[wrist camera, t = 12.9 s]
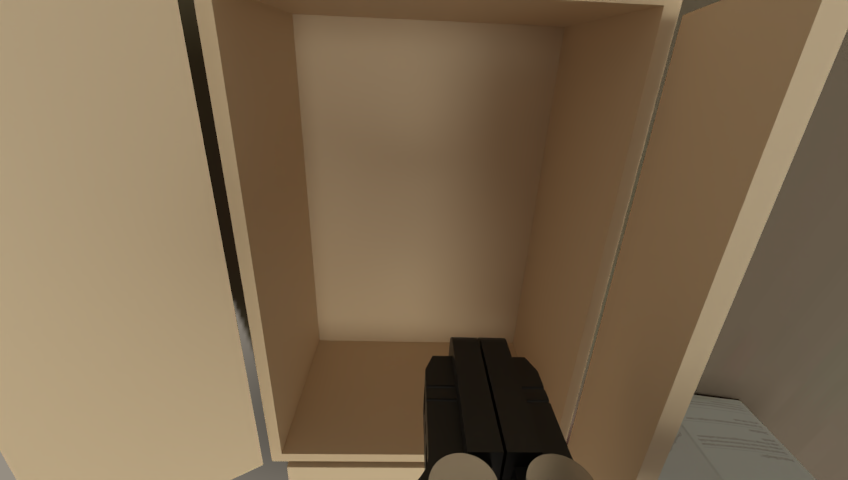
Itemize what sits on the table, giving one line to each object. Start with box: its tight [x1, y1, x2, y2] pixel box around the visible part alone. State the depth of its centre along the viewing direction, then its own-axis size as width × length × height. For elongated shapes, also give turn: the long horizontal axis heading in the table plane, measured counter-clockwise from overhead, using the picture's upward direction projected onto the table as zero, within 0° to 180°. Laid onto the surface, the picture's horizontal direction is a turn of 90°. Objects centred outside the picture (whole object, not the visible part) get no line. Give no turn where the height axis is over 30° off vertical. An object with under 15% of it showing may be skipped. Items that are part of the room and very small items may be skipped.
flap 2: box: [568, 0, 848, 480], centre depth 12 cm, size 7×18×1 cm
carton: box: [194, 0, 683, 480], centre depth 19 cm, size 14×33×9 cm, turn 178°
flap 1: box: [0, 0, 263, 480], centre depth 13 cm, size 7×18×1 cm
